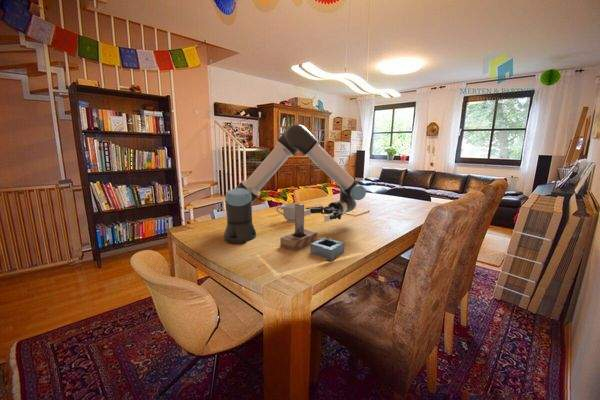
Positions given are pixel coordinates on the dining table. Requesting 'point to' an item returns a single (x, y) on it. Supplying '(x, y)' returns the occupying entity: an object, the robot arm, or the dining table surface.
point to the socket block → (327, 248)
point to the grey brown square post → (299, 220)
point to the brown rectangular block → (298, 240)
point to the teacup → (288, 212)
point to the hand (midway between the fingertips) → (312, 216)
